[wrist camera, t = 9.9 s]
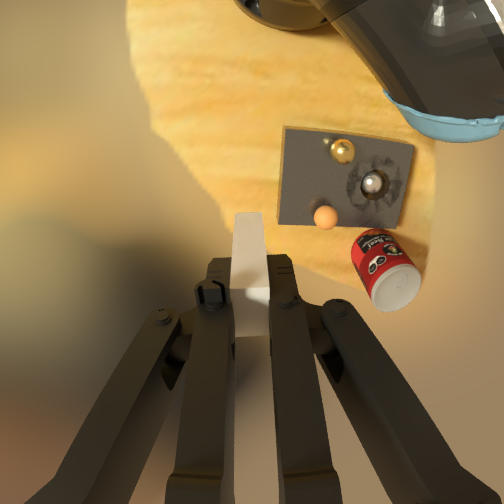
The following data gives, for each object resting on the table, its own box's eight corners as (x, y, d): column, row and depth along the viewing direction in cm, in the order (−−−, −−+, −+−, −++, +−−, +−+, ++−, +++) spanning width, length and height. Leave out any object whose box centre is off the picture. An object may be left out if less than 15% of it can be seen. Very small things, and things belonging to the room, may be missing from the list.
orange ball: (313, 201, 39) (318, 211, 36) (336, 202, 39) (342, 212, 36) (310, 222, 41) (315, 234, 38) (332, 223, 41) (338, 234, 38)
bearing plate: (282, 125, 36) (285, 128, 34) (405, 141, 37) (414, 145, 35) (276, 216, 43) (278, 224, 41) (389, 221, 44) (395, 228, 41)
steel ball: (363, 168, 40) (359, 169, 37) (385, 172, 38) (382, 173, 36) (361, 190, 41) (356, 192, 39) (382, 194, 40) (378, 196, 37)
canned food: (396, 226, 44) (429, 265, 35) (386, 267, 48) (411, 310, 39) (353, 226, 44) (380, 267, 35) (345, 269, 48) (366, 314, 39)
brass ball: (328, 135, 34) (335, 140, 32) (352, 138, 34) (361, 143, 32) (325, 159, 36) (332, 166, 33) (349, 161, 36) (357, 169, 33)
